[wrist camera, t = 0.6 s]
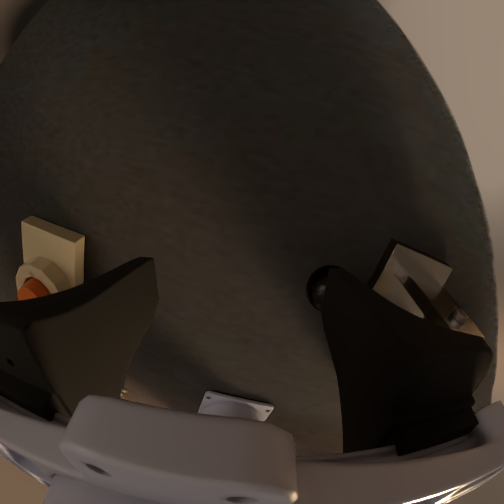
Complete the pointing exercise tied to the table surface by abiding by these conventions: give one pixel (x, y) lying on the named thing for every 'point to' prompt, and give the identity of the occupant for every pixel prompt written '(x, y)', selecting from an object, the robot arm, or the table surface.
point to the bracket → (419, 287)
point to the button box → (51, 255)
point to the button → (32, 290)
